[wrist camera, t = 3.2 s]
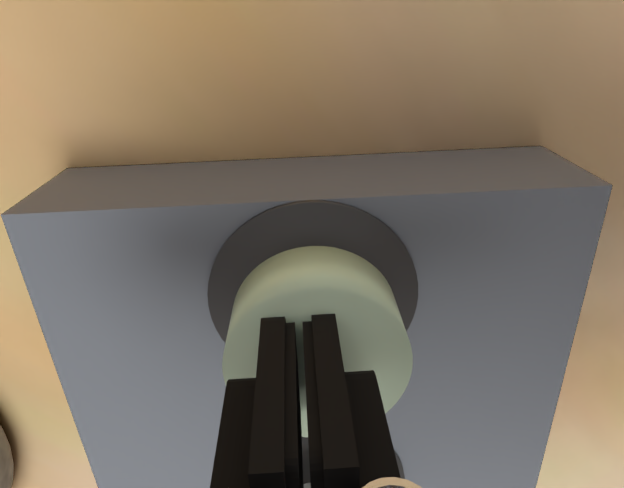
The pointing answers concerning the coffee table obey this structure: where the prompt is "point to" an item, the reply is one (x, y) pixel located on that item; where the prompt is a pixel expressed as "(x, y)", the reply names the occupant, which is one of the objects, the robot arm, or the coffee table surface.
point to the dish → (5, 462)
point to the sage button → (323, 300)
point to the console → (300, 233)
